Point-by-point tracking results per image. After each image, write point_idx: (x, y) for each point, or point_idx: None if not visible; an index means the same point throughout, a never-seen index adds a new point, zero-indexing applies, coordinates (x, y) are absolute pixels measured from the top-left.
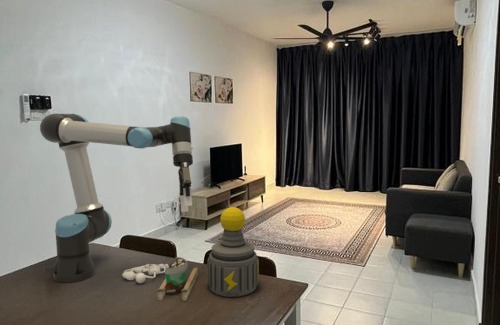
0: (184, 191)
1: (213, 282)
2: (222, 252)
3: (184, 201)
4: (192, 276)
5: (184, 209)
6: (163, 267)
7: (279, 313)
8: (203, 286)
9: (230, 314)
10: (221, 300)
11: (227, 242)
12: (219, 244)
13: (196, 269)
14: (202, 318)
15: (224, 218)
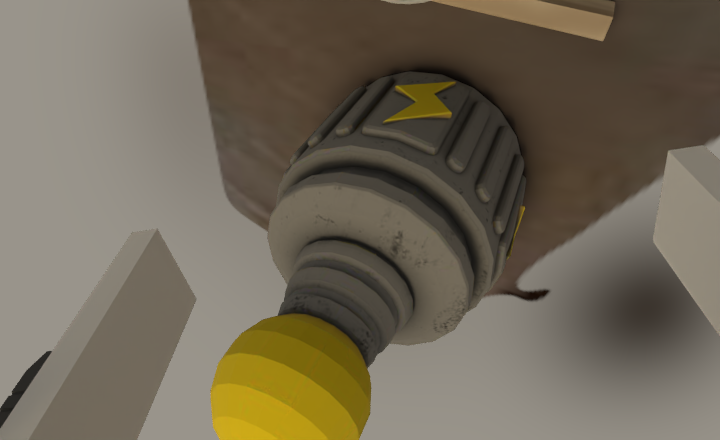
0: (26, 414)
1: (344, 101)
2: (275, 212)
3: (106, 273)
4: (475, 4)
5: (674, 211)
6: None
7: (257, 220)
8: (448, 45)
9: (236, 108)
10: (319, 98)
11: (299, 266)
12: (349, 230)
13: (579, 33)
14: (202, 20)
15: (225, 364)
